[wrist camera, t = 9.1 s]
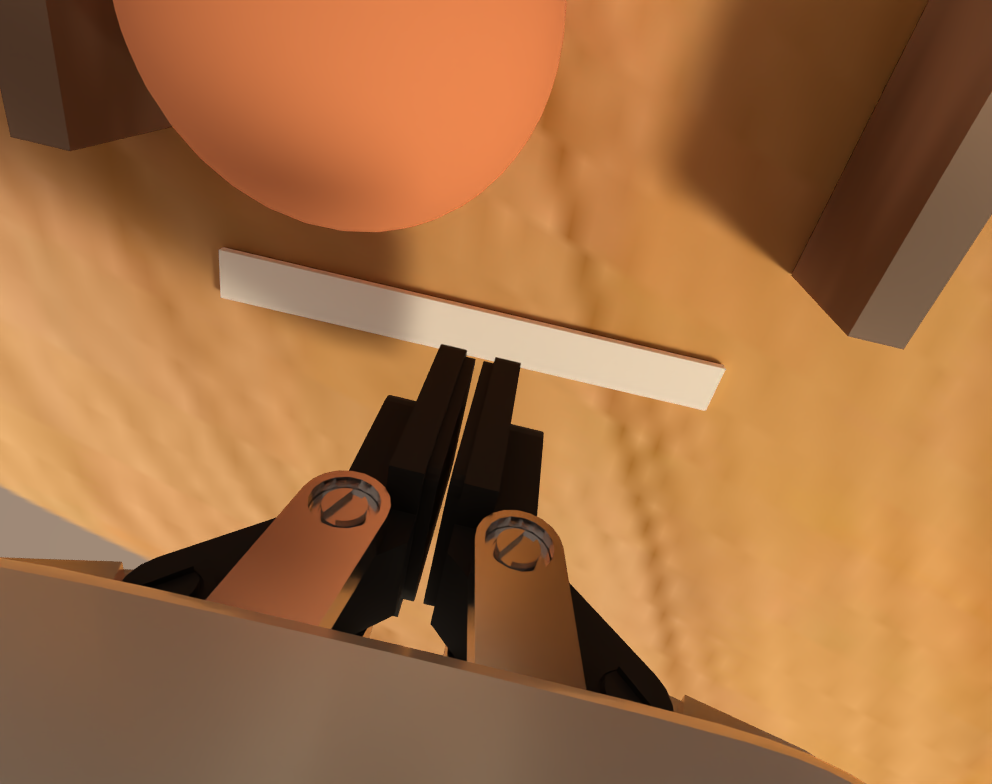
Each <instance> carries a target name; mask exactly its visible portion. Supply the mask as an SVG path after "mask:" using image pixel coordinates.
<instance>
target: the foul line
mask: <svg viewBox="0 0 992 784" xmlns="http://www.w3.org/2000/svg"><path fill="white" fill-rule="evenodd" d="M219 269H220V293H221V298H225V299H229V300H233V301H238V302H242V303H246V304H250V305H255V306H259V307H263V308H268V309H272V310H276V311H280V312H285V313H289V314H293V315H298V316H302V317H306V318H310V319H315V320H319V321H323V322H327V323H332V324H336V325H340V326H345V327H349V328H353V329H357V330H362V331H366V332H370V333H375V334H379V335H383V336H387V337H392V338H396V339H400V340H405V341H409V342H413V343H417V344H422V345H426V346H430V347H435V348H440V345H441V344H444V345H448V346H453V347H457V348H461V349H465V350H467V355H469V356H473V357H477V358H482V359H486V360H490V361H495V357H498V358H502V359H506V360H511V361H515V362H519V363H521V366H520V368H524V369H529V370H533V371H537V372H542V373H546V374H550V375H554V376H559V377H563V378H567V379H572V380H576V381H580V382H584V383H589V384H593V385H597V386H601V387H606V388H610V389H614V390H619V391H623V392H627V393H631V394H636V395H640V396H644V397H649V398H653V399H657V400H661V401H666V402H670V403H674V404H679V405H683V406H687V407H691V408H696V409H700V410H704V411H706V409H707V407H708V405H709V403H710V401H711V398H712V396H713V394H714V392H715V390H716V388H717V386H718V384H719V382H720V380H721V378H722V376H723V373H724V371H725V367H724V365H721V364H717V363H713V362H709V361H705V360H700V359H696V358H692V357H688V356H683V355H679V354H675V353H671V352H666V351H662V350H658V349H654V348H649V347H645V346H641V345H637V344H632V343H628V342H624V341H620V340H615V339H611V338H607V337H603V336H598V335H594V334H590V333H586V332H581V331H577V330H573V329H569V328H564V327H560V326H556V325H552V324H547V323H543V322H539V321H535V320H530V319H526V318H522V317H518V316H514V315H509V314H505V313H501V312H497V311H492V310H488V309H484V308H480V307H475V306H471V305H467V304H463V303H458V302H454V301H450V300H446V299H441V298H437V297H433V296H429V295H424V294H420V293H416V292H412V291H407V290H403V289H399V288H395V287H390V286H386V285H382V284H378V283H373V282H369V281H365V280H361V279H356V278H352V277H348V276H344V275H339V274H335V273H331V272H327V271H323V270H318V269H314V268H310V267H306V266H301V265H297V264H293V263H289V262H284V261H280V260H276V259H272V258H267V257H263V256H259V255H255V254H250V253H246V252H242V251H238V250H233V249H229V248H225V247H222V248H221V249H219Z"/></svg>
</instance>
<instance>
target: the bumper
mask: <svg viewBox="0 0 992 784" xmlns="http://www.w3.org/2000/svg"><path fill="white" fill-rule="evenodd" d="M0 89H1V93H2V98H3V103H4V108H5V112H6V117H7V122H8V126H9V131H10V136H11V137H13V138H17V139H22V140H26V141H30V142H34V143H38V144H43V145H47V146H51V147H55V148H59V149H64V150H68V151H73V150H77V149H81V148H85V147H89V146H94V145H98V144H102V143H106V142H110V141H114V140H119V139H123V138H127V137H131V136H135V135H139V134H144V133H148V132H152V131H156V130H160V129H164V128H169V127H172V125H171V124H170V123H169V121H168V120H167V118H166V117H165V115H164V114H163V112H162V111H161V109H160V107H159V106H158V104H157V103H156V101H155V100H154V98H153V97H152V95H151V94H150V92H149V91H148V89H147V87H146V86H145V84H144V82H143V80H142V78H141V76H140V74H139V72H138V70H137V68H136V65H135V63H134V61H133V59H132V56H131V54H130V52H129V50H128V47H127V45H126V42H125V40H124V37H123V34H122V32H121V29H120V26H119V22H118V19H117V15H116V12H115V8H114V4H113V0H0ZM991 215H992V0H929V2H928V4H927V6H926V8H925V9H924V11H923V13H922V15H921V17H920V19H919V21H918V23H917V25H916V27H915V29H914V31H913V33H912V35H911V37H910V39H909V41H908V43H907V45H906V47H905V49H904V51H903V53H902V55H901V57H900V59H899V61H898V63H897V65H896V67H895V69H894V71H893V73H892V75H891V77H890V79H889V81H888V83H887V85H886V87H885V89H884V91H883V93H882V95H881V97H880V99H879V101H878V103H877V105H876V107H875V109H874V111H873V113H872V115H871V117H870V119H869V121H868V123H867V125H866V127H865V129H864V131H863V133H862V135H861V137H860V139H859V141H858V143H857V145H856V147H855V149H854V151H853V153H852V155H851V157H850V159H849V161H848V163H847V165H846V167H845V169H844V171H843V173H842V175H841V177H840V179H839V181H838V183H837V185H836V187H835V189H834V191H833V193H832V195H831V197H830V199H829V201H828V203H827V205H826V207H825V209H824V211H823V213H822V215H821V217H820V219H819V221H818V223H817V225H816V227H815V229H814V231H813V233H812V235H811V237H810V239H809V241H808V243H807V245H806V247H805V249H804V251H803V253H802V255H801V257H800V259H799V261H798V263H797V265H796V267H795V269H794V271H793V273H792V277H793V278H794V279H795V280H796V281H797V282H798V283H799V284H800V285H801V286H802V287H803V288H804V289H805V291H806V292H807V293H808V294H809V295H810V296H811V297H812V298H813V299H814V300H815V301H816V302H817V303H818V305H819V306H820V307H821V308H822V309H823V310H824V311H825V312H826V313H827V314H828V315H829V316H830V317H831V318H832V320H833V321H834V322H835V323H836V324H837V325H838V326H839V327H840V328H841V329H842V330H843V331H844V332H845V334H846V335H847V336H850V337H854V338H858V339H862V340H866V341H871V342H875V343H879V344H883V345H887V346H892V347H896V348H900V349H904V348H905V346H906V345H907V343H908V342H909V340H910V339H911V337H912V336H913V334H914V333H915V331H916V330H917V328H918V327H919V325H920V323H921V322H922V320H923V319H924V317H925V316H926V314H927V313H928V311H929V310H930V308H931V307H932V305H933V304H934V302H935V301H936V299H937V297H938V296H939V294H940V293H941V291H942V290H943V288H944V287H945V285H946V284H947V282H948V281H949V279H950V278H951V276H952V275H953V273H954V271H955V270H956V268H957V267H958V265H959V264H960V262H961V261H962V259H963V258H964V256H965V255H966V253H967V252H968V250H969V248H970V247H971V245H972V244H973V242H974V241H975V239H976V238H977V236H978V235H979V233H980V232H981V230H982V229H983V227H984V226H985V224H986V222H987V221H988V219H989V218H990V216H991Z"/></svg>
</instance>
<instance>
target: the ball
mask: <svg viewBox="0 0 992 784" xmlns="http://www.w3.org/2000/svg"><path fill="white" fill-rule="evenodd" d="M113 4H114V8H115V12H116V15H117V19H118V22H119V26H120V29H121V32H122V34H123V37H124V40H125V42H126V45H127V47H128V50H129V52H130V54H131V56H132V59H133V61H134V63H135V65H136V68H137V70H138V72H139V74H140V76H141V78H142V80H143V82H144V84H145V86H146V87H147V89H148V91H149V92H150V94H151V95H152V97H153V98H154V100H155V101H156V103H157V104H158V106H159V107H160V109H161V111H162V112H163V114H164V115H165V117H166V118H167V120H168V121H169V123H170V124H171V125H172V127H173V128H174V129H175V130H176V131H177V133H178V134H179V135H180V136H181V137H182V138H183V140H184V141H185V142H186V143H187V144H188V145H189V146H190V147H191V149H192V150H193V151H194V152H195V153H196V154H197V155H198V156H199V158H201V159H202V160H203V161H204V162H205V163H206V164H207V165H208V166H210V167H211V168H212V169H213V170H214V171H215V172H217V173H218V174H219V175H220V176H221V177H223V178H224V179H225V180H226V181H227V182H229V183H230V184H231V185H232V186H234V187H235V188H237V189H238V190H240V191H241V192H243V193H245V194H246V195H248V196H249V197H251V198H253V199H254V200H256V201H258V202H259V203H261V204H263V205H264V206H266V207H268V208H270V209H272V210H275V211H277V212H279V213H282V214H284V215H287V216H289V217H292V218H294V219H297V220H299V221H302V222H304V223H308V224H312V225H317V226H322V227H326V228H331V229H336V230H340V231H357V232H383V231H390V230H397V229H403V228H408V227H413V226H416V225H420V224H423V223H426V222H429V221H432V220H434V219H437V218H439V217H441V216H443V215H445V214H447V213H449V212H451V211H453V210H455V209H457V208H459V207H461V206H463V205H464V204H466V203H467V202H469V201H470V200H472V199H473V198H475V197H476V196H478V195H479V194H480V193H481V192H482V191H484V190H485V189H486V188H487V187H488V186H489V185H490V184H491V183H493V182H494V181H495V180H496V179H497V178H498V177H499V176H500V175H501V174H502V173H503V172H504V171H505V169H506V168H507V167H508V166H509V165H510V164H511V163H512V162H513V160H514V159H515V158H516V157H517V155H518V154H519V152H520V151H521V150H522V148H523V147H524V145H525V144H526V142H527V141H528V139H529V138H530V136H531V134H532V132H533V130H534V129H535V127H536V125H537V123H538V121H539V119H540V118H541V115H542V113H543V110H544V108H545V106H546V103H547V101H548V98H549V96H550V93H551V90H552V87H553V83H554V80H555V76H556V73H557V70H558V65H559V59H560V54H561V49H562V43H563V37H564V27H565V14H566V0H113Z"/></svg>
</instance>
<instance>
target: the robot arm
mask: <svg viewBox="0 0 992 784" xmlns="http://www.w3.org/2000/svg"><path fill="white" fill-rule="evenodd" d="M466 355H467V350H465V349H461V348H457V347H453V346H448V345H444V344H441V345H440V348H439V350H438V352H437V355H436V357H435V359H434V362H433V364H432V366H431V369H430V371H429V373H428V375H427V378H426V380H425V382H424V385H423V387H422V389H421V392H420V394H419V396H418V399H417V401H413V400H409V399H404V398H400V397H396V396H392V395H389V396H387V398H386V400H385V401H384V403H383V405H382V407H381V409H380V411H379V413H378V415H377V417H376V419H375V421H374V423H373V425H372V427H371V429H370V431H369V432H368V434H367V436H366V438H365V440H364V442H363V444H362V446H361V448H360V450H359V452H358V454H357V456H356V458H355V460H354V462H353V464H352V466H351V468H350V469H349V471H334V472H329V473H324V474H322V475H320V476H317V477H315V478H313V479H312V480H311V481H309V482H308V483H307V484H306V485H305V486H303V488H302V489H301V490H300V491H299V492H298V493H297V495H296V496H295V497H294V498H293V499H292V500H291V501H290V503H289V504H288V505H287V506H286V507H285V508H284V510H283V511H282V512H281V513H280V514H279V515H278V516H277V518H274V519H271V520H268V521H265V522H262V523H259V524H256V525H253V526H250V527H247V528H244V529H241V530H238V531H235V532H232V533H229V534H226V535H223V536H220V537H217V538H214V539H211V540H208V541H205V542H202V543H199V544H196V545H193V546H190V547H187V548H184V549H181V550H178V551H175V552H172V553H169V554H166V555H163V556H160V557H157V558H155V559H152V560H150V561H148V562H146V563H144V564H141V565H140V566H138V567H137V568H136V569H134V570H126V569H125V570H124V569H123V565H122V562H113V561H85V560H57V559H30V558H2V557H0V784H866V783H864V782H862V781H861V780H859V779H858V778H856V777H854V776H853V775H851V774H849V773H847V772H845V771H843V770H841V769H839V768H837V767H835V766H833V765H831V764H829V763H827V762H824V761H822V760H820V759H818V758H816V757H815V756H813V755H812V754H810V753H809V752H807V751H805V750H803V749H801V748H799V747H797V746H795V745H793V744H790V743H788V742H786V741H784V740H782V739H780V738H778V737H775V736H773V735H771V734H769V733H767V732H765V731H762V730H760V729H758V728H756V727H754V726H752V725H749V724H747V723H745V722H743V721H741V720H739V719H736V718H734V717H732V716H730V715H728V714H726V713H723V712H721V711H719V710H717V709H715V708H713V707H710V706H708V705H706V704H704V703H702V702H700V701H697V700H695V699H693V698H691V697H689V696H687V695H685V696H684V697H683V699H682V700H681V701H680V700H678V699H676V698H674V697H671V696H669V695H668V693H667V690H666V688H665V687H664V686H663V684H662V683H661V682H660V680H659V679H658V678H657V676H656V675H655V674H654V673H653V672H652V671H651V670H650V669H649V668H648V666H647V665H646V664H645V663H644V662H643V661H642V660H641V659H640V658H639V657H638V656H637V655H636V654H635V653H634V652H633V650H632V649H631V648H630V647H629V646H628V645H627V644H626V643H625V642H624V641H623V640H622V639H621V638H620V637H619V635H618V634H617V633H616V632H615V631H614V630H613V629H612V628H611V627H610V626H609V625H608V624H607V623H606V622H605V621H604V619H603V618H602V617H601V616H600V615H599V614H598V613H597V612H596V611H595V610H594V609H593V608H592V607H591V606H590V604H589V603H588V602H587V601H586V600H585V599H584V598H583V597H582V596H581V595H580V594H579V593H578V592H577V591H576V590H575V588H574V587H573V586H572V585H571V584H570V583H569V579H568V573H567V567H566V561H565V554H564V548H563V545H562V542H561V540H560V537H559V536H558V534H557V533H556V532H555V530H554V529H553V528H552V527H551V526H550V525H549V524H547V523H546V522H545V521H544V520H542V519H541V518H539V517H537V509H538V497H539V485H540V473H541V461H542V449H543V435H544V433H543V432H542V431H538V430H533V429H529V428H525V427H521V426H517V425H513V424H511V419H512V413H513V407H514V401H515V395H516V389H517V383H518V377H519V371H520V366H521V363H519V362H515V361H511V360H506V359H502V358H498V357H495V361H494V363H489V362H485V361H484V362H483V365H482V369H481V372H480V376H479V380H478V383H477V387H476V390H475V394H474V397H473V401H472V404H471V408H470V412H469V415H468V419H467V422H466V426H465V429H464V433H463V437H462V440H461V444H460V447H459V451H458V454H457V458H456V462H455V465H454V469H453V472H452V476H451V480H450V484H449V488H448V493H447V497H446V502H445V506H444V511H443V515H442V520H441V525H440V529H439V534H438V538H437V543H436V547H435V552H434V557H433V561H432V566H431V570H430V575H429V579H428V584H427V589H426V593H425V598H424V603H423V604H427V605H431V606H435V607H434V611H433V615H432V620H431V625H432V626H433V628H434V629H435V630H436V632H437V633H438V635H439V636H440V637H441V639H442V640H443V642H444V643H445V645H446V646H445V650H444V655H443V656H442V655H438V654H434V653H429V652H425V651H421V650H417V649H413V648H408V647H404V646H400V645H396V644H391V643H387V642H383V641H379V640H374V639H370V635H371V632H372V628H373V625H375V624H377V623H379V622H381V621H383V620H385V619H387V618H389V617H391V616H396V617H398V614H399V611H400V608H401V604H402V601H403V599H406V600H410V601H414V600H415V597H416V593H417V590H418V586H419V583H420V579H421V576H422V572H423V569H424V565H425V561H426V558H427V554H428V551H429V547H430V544H431V540H432V537H433V533H434V530H435V526H436V523H437V519H438V516H439V512H440V509H441V505H442V502H443V498H444V495H445V491H446V488H447V484H448V481H449V477H450V473H451V470H452V466H453V461H454V457H455V452H456V448H457V443H458V438H459V434H460V429H461V425H462V420H463V416H464V411H465V406H466V402H467V397H468V393H469V388H470V383H471V379H472V374H473V370H474V365H475V359H473V358H469V357H466Z"/></svg>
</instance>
